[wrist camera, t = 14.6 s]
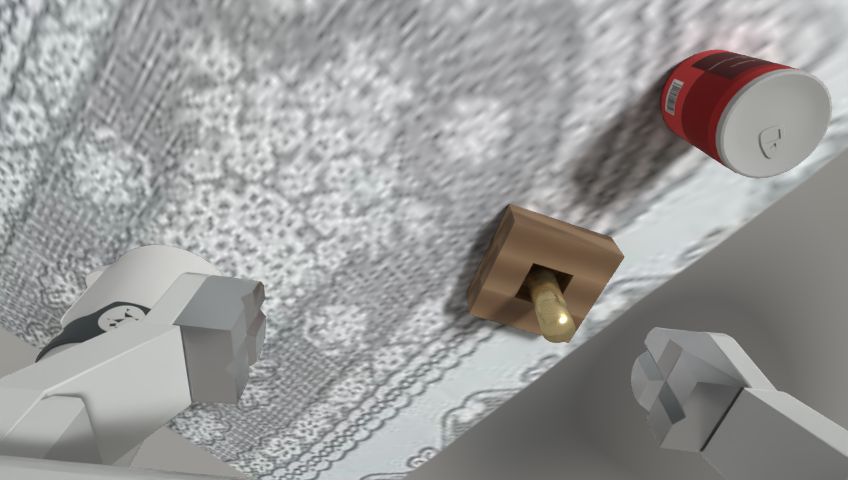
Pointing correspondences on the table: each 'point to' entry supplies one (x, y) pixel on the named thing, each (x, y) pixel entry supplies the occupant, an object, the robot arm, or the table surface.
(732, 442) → the robot arm
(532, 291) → the pin
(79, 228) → the table surface
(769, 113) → the canned food
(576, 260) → the socket block
